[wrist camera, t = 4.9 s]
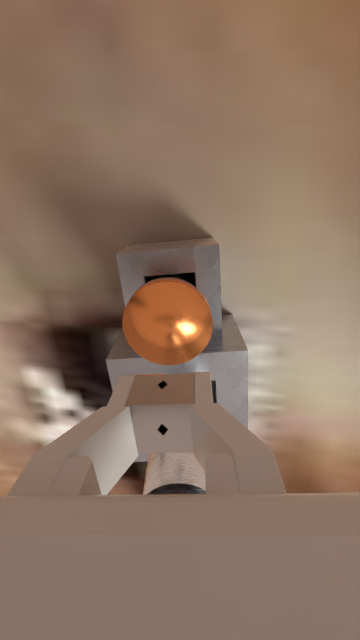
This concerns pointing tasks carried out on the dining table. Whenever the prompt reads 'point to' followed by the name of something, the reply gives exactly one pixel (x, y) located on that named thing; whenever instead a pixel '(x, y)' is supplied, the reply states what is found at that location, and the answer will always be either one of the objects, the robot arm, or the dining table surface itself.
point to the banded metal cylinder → (174, 474)
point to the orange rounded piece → (168, 320)
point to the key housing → (175, 269)
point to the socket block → (196, 369)
